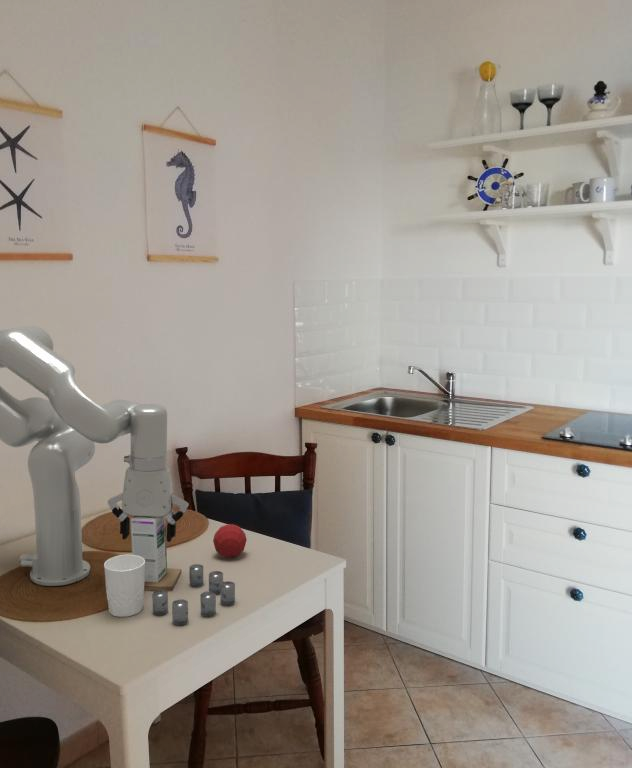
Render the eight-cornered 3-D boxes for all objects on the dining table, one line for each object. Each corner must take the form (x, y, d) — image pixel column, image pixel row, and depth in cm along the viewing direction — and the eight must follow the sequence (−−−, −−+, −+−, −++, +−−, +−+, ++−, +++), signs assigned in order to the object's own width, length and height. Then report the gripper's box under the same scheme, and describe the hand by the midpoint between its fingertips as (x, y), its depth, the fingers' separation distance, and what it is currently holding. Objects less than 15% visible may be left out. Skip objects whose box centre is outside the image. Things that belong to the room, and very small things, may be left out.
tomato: (232, 528, 164) (232, 511, 171) (205, 547, 165) (206, 529, 172) (253, 550, 167) (252, 533, 174) (227, 569, 168) (227, 550, 175)
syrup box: (157, 583, 152) (156, 519, 150) (131, 581, 153) (130, 517, 151) (167, 572, 158) (166, 510, 155) (142, 570, 159) (141, 508, 156)
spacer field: (146, 625, 137) (145, 605, 136) (169, 580, 156) (169, 563, 155) (227, 627, 137) (227, 608, 136) (240, 582, 156) (240, 565, 155)
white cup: (124, 622, 138) (123, 574, 136) (97, 611, 142) (95, 564, 140) (154, 606, 144) (153, 560, 143) (126, 596, 148) (125, 551, 147)
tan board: (121, 589, 151) (120, 585, 151) (132, 571, 160) (132, 567, 160) (172, 591, 151) (172, 586, 151) (181, 572, 160) (181, 568, 160)
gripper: (102, 465, 148) (102, 542, 151) (185, 469, 147) (183, 547, 150) (113, 455, 155) (113, 529, 158) (192, 459, 155) (191, 534, 158)
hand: (148, 538), depth 154 cm, fingers open, 9 cm apart
